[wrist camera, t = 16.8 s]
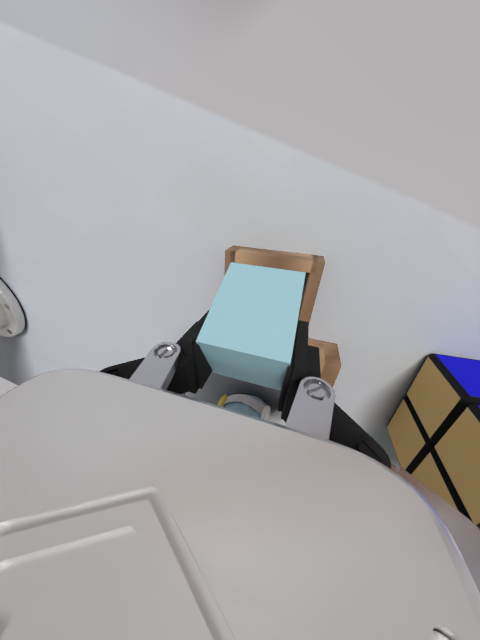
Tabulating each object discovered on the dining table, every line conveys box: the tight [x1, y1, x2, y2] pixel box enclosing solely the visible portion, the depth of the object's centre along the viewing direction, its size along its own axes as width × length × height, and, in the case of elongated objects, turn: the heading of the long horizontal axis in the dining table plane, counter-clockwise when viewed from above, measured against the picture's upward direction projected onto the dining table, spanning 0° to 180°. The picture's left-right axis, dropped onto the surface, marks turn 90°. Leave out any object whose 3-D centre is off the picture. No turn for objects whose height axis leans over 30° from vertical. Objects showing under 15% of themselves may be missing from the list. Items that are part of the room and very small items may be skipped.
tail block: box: [196, 262, 306, 391], centre depth 11 cm, size 4×4×5 cm
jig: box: [225, 246, 341, 387], centre depth 23 cm, size 12×31×3 cm, turn 177°
